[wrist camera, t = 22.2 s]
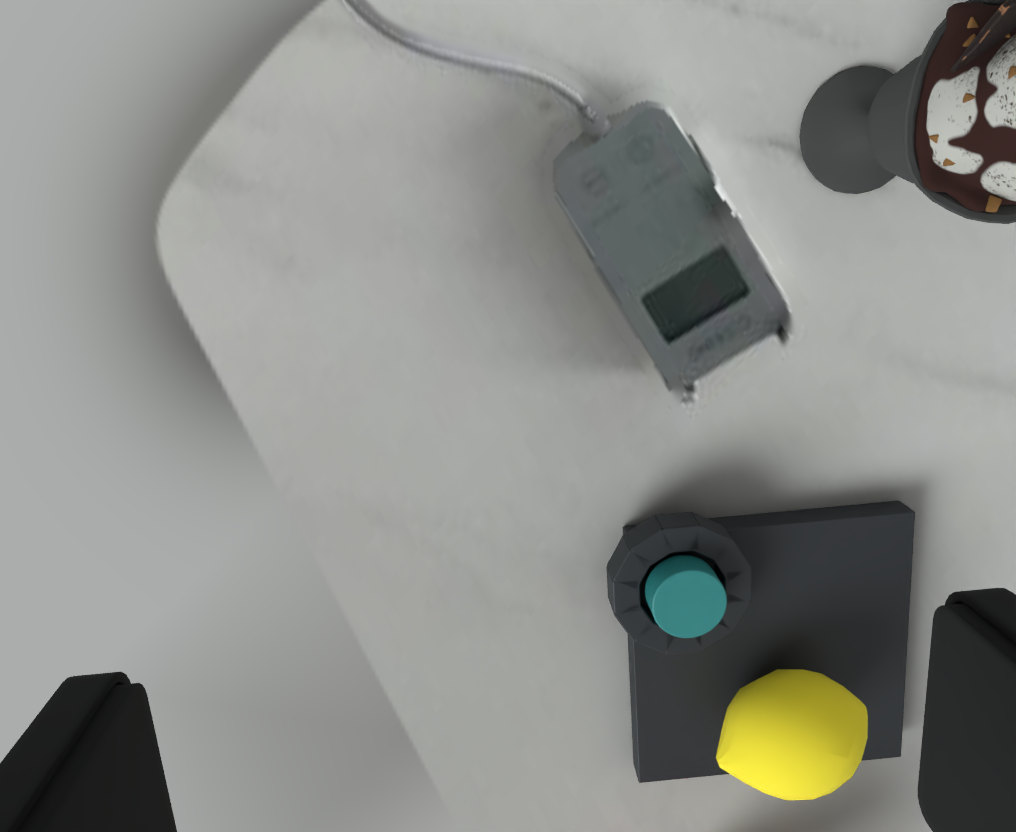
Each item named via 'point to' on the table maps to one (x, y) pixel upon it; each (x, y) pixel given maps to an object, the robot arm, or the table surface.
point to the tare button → (685, 596)
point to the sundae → (928, 118)
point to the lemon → (793, 734)
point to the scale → (766, 622)
